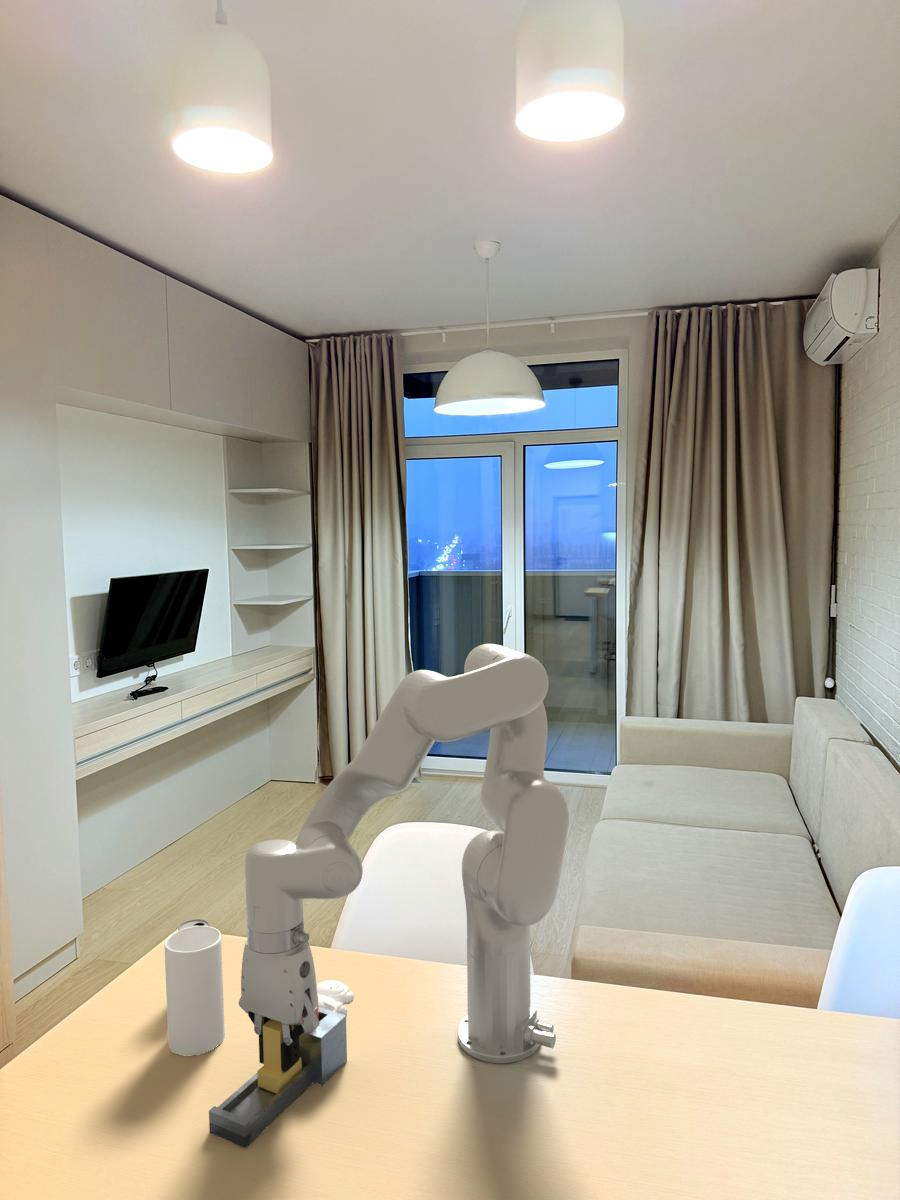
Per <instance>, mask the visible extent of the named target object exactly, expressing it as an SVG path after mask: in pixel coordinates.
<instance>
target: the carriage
mask: <svg viewBox="0 0 900 1200" xmlns="http://www.w3.org/2000/svg"><path fill="white" fill-rule="evenodd" d="M293 1029H294V1027H293V1025H292V1030H293ZM283 1042H284V1038H283V1029H282V1022H280V1021H277V1020H274V1019H270V1020H269V1021H268V1022H267V1023H265V1024H264V1025H263V1053H264V1064H263V1066H262V1067H260V1068H259V1069H258V1070H257V1072H256V1073H257V1075H258V1087H261V1088H263V1089H266V1090H269V1091H271V1092H274V1093H276V1094H277V1093H278V1092H279V1091H280V1090H281V1089H282V1088H283V1087H284V1086H285V1085H286V1084H288V1083H289V1082H290V1081H291V1080H292V1079H293V1078H294V1077H295V1076H296V1075H297V1074H298V1073H299V1072H300V1071H302V1060H301V1057H299V1061H298V1062H297V1063H296V1064H295V1065H293V1066H292V1067H291V1068H290V1069H289V1070H288V1071H287V1072H283V1071H282V1069H281V1044H282V1043H283Z"/></svg>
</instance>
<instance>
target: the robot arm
mask: <svg viewBox="0 0 900 1200" xmlns="http://www.w3.org/2000/svg"><path fill="white" fill-rule="evenodd" d="M463 666H464V668H463V672H464V673H462V674H457V675H454V676H446V675H444V674H441V673H439V672H436V671H434V670H428V669H419V670H415V671H412V672H410V673H408V674H407V675H406V676H405V677H404V678H402V680H401V681H400V683H399V684H398V685H397V687H396V689H395V690H394V692H393V694H392V695H391V697H390V699H389V700H388V702H387V703H386V706H385V707H384V709H383V710H382V713H381V714H380V716H379V718H378V719H377V720H376V722H375V724H374V725H373V728H372V730H371V731H370V732H369V734H368V736H367V738H366V740H365V741H364V743H363V744H362V746H361V748H359V749H360V750H359V751H358V753H357V754H356V756H355V757H354V758H353V760H351V761H350V762H349V763H348V764H347V765H346V766H345V767H344V768H343V769H342V770H341V771H340V772H339V773H338V774H337V775H336V776H335V777H334V778H333V779H332V780H331V781H330V782H329V784H328V785H327V786H326V787H325V788H324V790H323V791H322V793H321V794H320V795H319V796H318V799H317V800H316V801H315V803H314V805H313V807H312V809H311V810H310V812H309V813H308V815H307V817H306V819H305V821H304V822H303V824H302V826H301V827H300V830H299V832H298V834H297V837H296V841H295V842H293V841H291V840H288V839H277V838H276V839H268V840H263V841H260V842H258V843H254V845H253V844H252V846H251V847H249V849H248V850H247V852H246V855H245V857H244V872H245V877H244V878H245V898H246V899H245V901H246V902H245V903H246V907H245V908H246V931H247V932H246V933H247V935H246V937H247V939H246V941H245V942H244V947H243V953H242V961H241V971H240V975H241V976H240V995H241V996H240V998H239V1000H238V1006H239V1007H240V1008H241V1009H242V1010H243V1011H244V1012H245V1013H246V1014H247V1016H248V1017H249V1019H250V1021H251V1022H252V1024H253V1031H254V1033H255V1034H256V1035H257V1036H258V1055H259V1057H258V1058H259V1059H258V1060H259V1064H261V1065H264V1053H263V1025H264V1024H265V1023H267V1022H268V1021H269V1020H270V1019H274V1020H277V1021H280V1022H282V1029H283V1038H284V1042H283V1043H282V1044H281V1069H282V1071H283V1072H287V1071H288V1070H289V1069H290V1068H291V1067H292V1066H293V1065H295V1064H296V1063H297V1062H298V1061H299V1057H300V1050H299V1036H300V1035H302V1034H303V1033H308V1032H311V1031H313V1030H315V1029H316V1028H317V1027H318V1026H319V1025H320V1023H319V1020H318V1018H317V1016H316V1013H315V1011H314V1010H315V1009H316V1008H317V985H318V984H317V977H316V969H315V962H314V957H313V953H312V949H311V946H310V942H309V941H310V940H309V939H310V933H308V932H305V924H304V923H305V922H304V919H305V918H304V899H305V900H336V899H337V900H338V899H342V898H344V897H346V896H348V895H350V894H352V893H353V892H354V891H355V890H356V889H358V886H359V885H360V883H361V881H362V878H363V875H364V874H363V873H364V870H363V868H364V867H363V862H362V860H361V858H360V855H359V854H358V853H357V851H356V850H355V848H354V846H353V844H352V843H351V841H350V840H351V837H352V836H353V834H354V832H355V830H356V829H357V827H358V826H359V823H360V822H361V821H362V819H363V818H364V816H365V815H366V814H367V812H368V811H369V810H370V809H371V808H372V807H373V806H374V805H375V804H376V803H378V802H379V801H381V800H382V799H384V798H386V797H390V796H392V795H396V794H399V793H401V792H404V791H406V790H407V789H408V788H409V787H410V785H411V783H412V782H413V780H414V778H415V777H416V775H417V773H418V772H419V770H420V767H421V766H422V764H423V763H424V760H426V757H427V755H428V753H429V752H430V751H431V749H432V747H433V746H434V743H435V742H437V743H448V742H449V743H450V742H454V741H459V740H462V739H465V738H469V737H472V736H474V735H478V734H480V733H482V732H486V731H488V730H490V731H489V741H488V742H489V743H488V750H487V756H486V761H485V766H484V767H485V769H484V774H483V780H482V784H481V791H480V806H481V810H482V812H483V814H484V815H485V816H486V818H488V820H490V821H491V822H492V823H493V824H494V825H495V826H496V827H498V829H500V830H493V829H492V830H486V831H483V832H480V833H478V834H477V835H475V836H474V837H473V838H472V839H471V840H470V841H469V843H467V845H466V847H465V850H464V852H463V856H462V860H461V879H462V885H463V894H464V900H465V909H466V910H465V911H466V967H467V968H466V969H467V970H466V973H467V974H466V979H467V980H466V981H467V982H466V985H467V987H466V989H467V993H466V994H467V999H466V1000H467V1016H465V1017H464V1018H463V1019H462V1020H461V1022H459V1025H458V1027H457V1041H458V1043H459V1045H460V1047H461V1048H462V1049H463V1051H464V1052H466V1053H467V1054H468V1055H469V1056H471V1057H473V1058H474V1059H478V1060H480V1061H482V1062H483V1061H484V1062H487V1063H494V1064H506V1063H507V1064H509V1063H514V1062H518V1061H522V1060H524V1059H526V1058H528V1057H531V1055H532V1054H534V1053H535V1052H536V1051H537V1050H538V1048H539V1047H540V1046H543V1047H546V1048H550V1049H554V1047H555V1045H556V1041H557V1040H556V1039H557V1036H556V1034H555V1033H554V1030H555V1029H554V1025H553V1024H551V1023H547V1022H541V1021H540V1019H539V1018H537V1017H538V1016H537V1015H538V1013H537V1008H536V1007H532V1006H531V935H532V934H531V926H533V925H535V924H537V923H539V922H540V921H541V920H543V919H544V918H545V917H546V916H547V915H548V913H550V910H551V909H552V907H553V905H554V902H555V900H556V899H557V895H558V890H559V886H560V882H561V875H562V871H563V870H562V869H563V863H564V857H565V852H566V846H567V839H568V834H569V833H568V832H569V825H570V817H569V816H570V815H569V808H568V804H567V801H566V798H565V797H564V794H563V793H562V792H561V790H560V789H559V788H558V787H557V786H556V785H555V784H554V783H552V781H550V780H548V779H546V778H545V776H544V775H545V774H544V771H545V761H546V753H547V752H546V751H547V741H548V731H549V730H548V728H549V727H548V725H549V724H548V716H547V711H546V707H545V704H544V700H545V698H546V697H547V694H548V690H549V676H548V673H547V670H546V668H545V666H544V665H543V664H542V663H541V662H540V660H538V659H537V658H536V657H534V656H532V655H530V654H528V653H524V652H522V651H519V650H515V649H512V648H510V647H507V646H504V645H501V644H495V643H484V644H481V645H480V644H479V645H478V646H476V647H474V648H473V649H472V650H471V651H470V652H469V653H468V655H467V657H466V658H465V662H464V665H463ZM302 1017H303V1019H304V1021H303V1022H302ZM292 1025H293V1027H294V1029H293V1030H292Z"/></svg>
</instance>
